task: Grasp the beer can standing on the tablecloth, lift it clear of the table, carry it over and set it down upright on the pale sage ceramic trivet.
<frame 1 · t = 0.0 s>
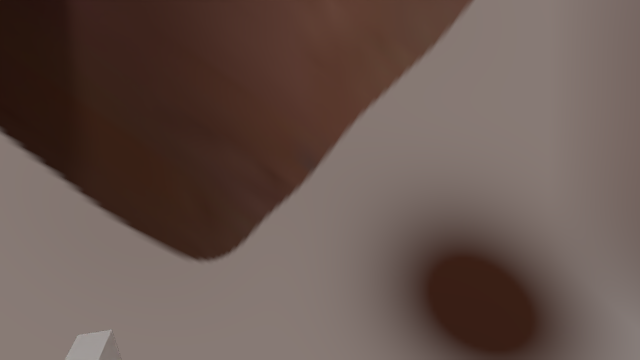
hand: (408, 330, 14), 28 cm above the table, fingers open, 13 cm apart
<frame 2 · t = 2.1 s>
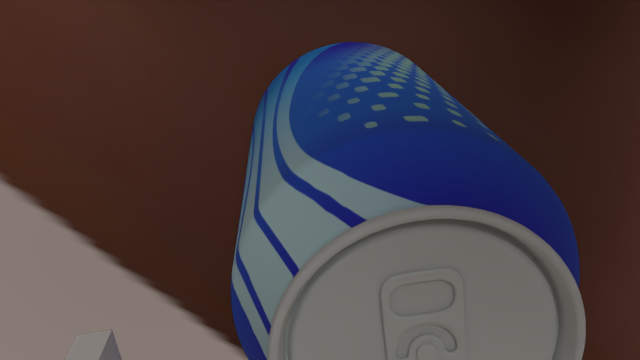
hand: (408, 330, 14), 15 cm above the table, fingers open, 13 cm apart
beer can: (346, 130, 27), on the table
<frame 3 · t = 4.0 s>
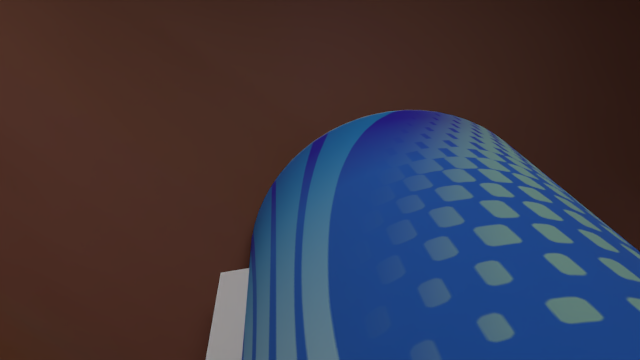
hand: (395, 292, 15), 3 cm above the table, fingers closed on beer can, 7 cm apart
beer can: (391, 232, 18), on the table, touching gripper
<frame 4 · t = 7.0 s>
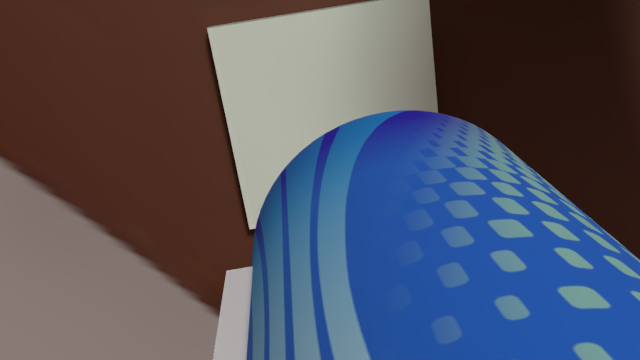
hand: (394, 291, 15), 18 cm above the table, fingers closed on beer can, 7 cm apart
trivet: (332, 114, 32), on the table
beer can: (389, 228, 19), point 14 cm above the table, touching gripper
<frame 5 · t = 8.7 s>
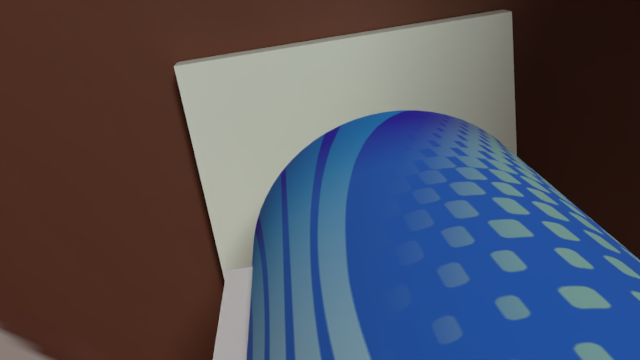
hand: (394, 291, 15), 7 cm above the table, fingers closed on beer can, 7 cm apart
trivet: (361, 187, 22), on the table
beer can: (389, 228, 19), point 3 cm above the table, touching gripper
when the fingers open (5 cm above the table, at t = 10.0 s): beer can stays where it is, resting on trivet.
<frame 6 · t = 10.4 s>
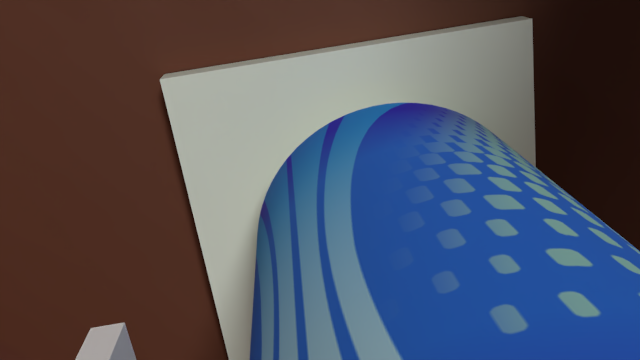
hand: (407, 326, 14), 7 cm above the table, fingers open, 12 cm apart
trivet: (365, 209, 20), on the table
beer can: (387, 217, 20), point 1 cm above the table, touching trivet
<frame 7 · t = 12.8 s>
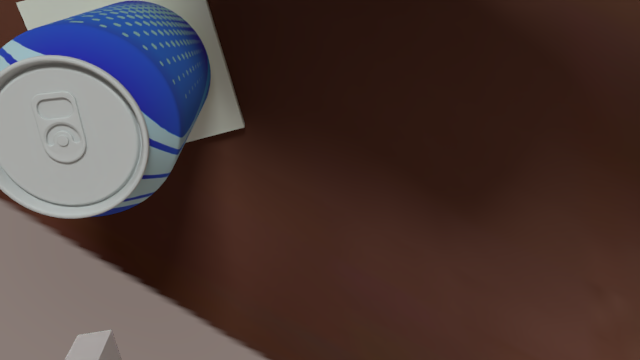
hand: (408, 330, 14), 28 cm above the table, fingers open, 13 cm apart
trivet: (138, 65, 39), on the table
beer can: (146, 67, 38), point 1 cm above the table, touching trivet
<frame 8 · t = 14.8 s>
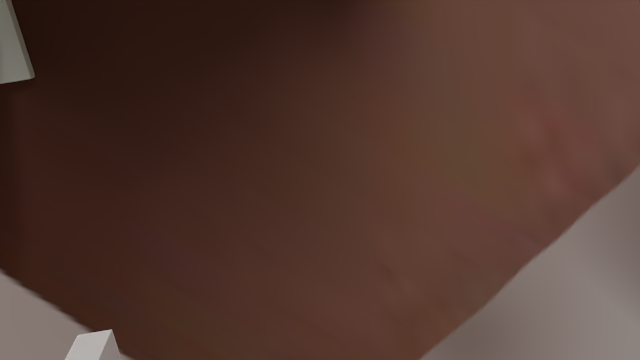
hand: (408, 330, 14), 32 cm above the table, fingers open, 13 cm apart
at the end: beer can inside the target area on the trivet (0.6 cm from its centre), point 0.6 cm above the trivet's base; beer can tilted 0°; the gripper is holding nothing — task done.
